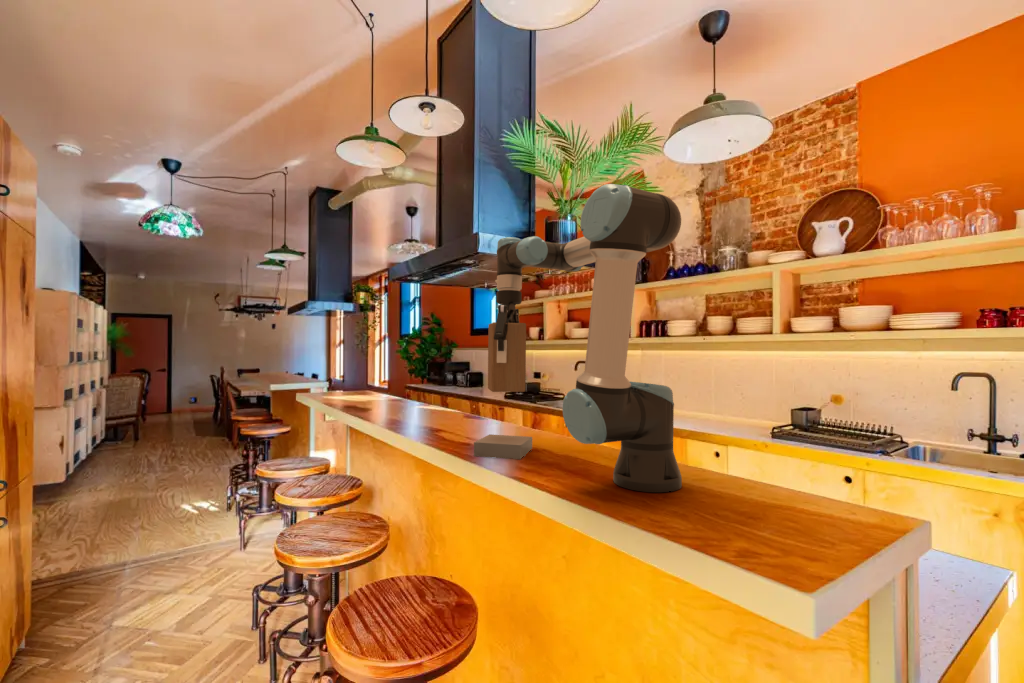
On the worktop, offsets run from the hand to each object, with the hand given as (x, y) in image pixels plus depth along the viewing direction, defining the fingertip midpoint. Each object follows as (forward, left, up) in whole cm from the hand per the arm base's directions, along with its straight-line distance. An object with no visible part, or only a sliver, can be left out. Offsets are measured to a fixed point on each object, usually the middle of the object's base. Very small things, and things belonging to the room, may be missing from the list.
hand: (508, 362), depth 139 cm
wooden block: (0, +1, -9) cm, 9 cm away
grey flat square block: (+1, +1, -27) cm, 27 cm away
